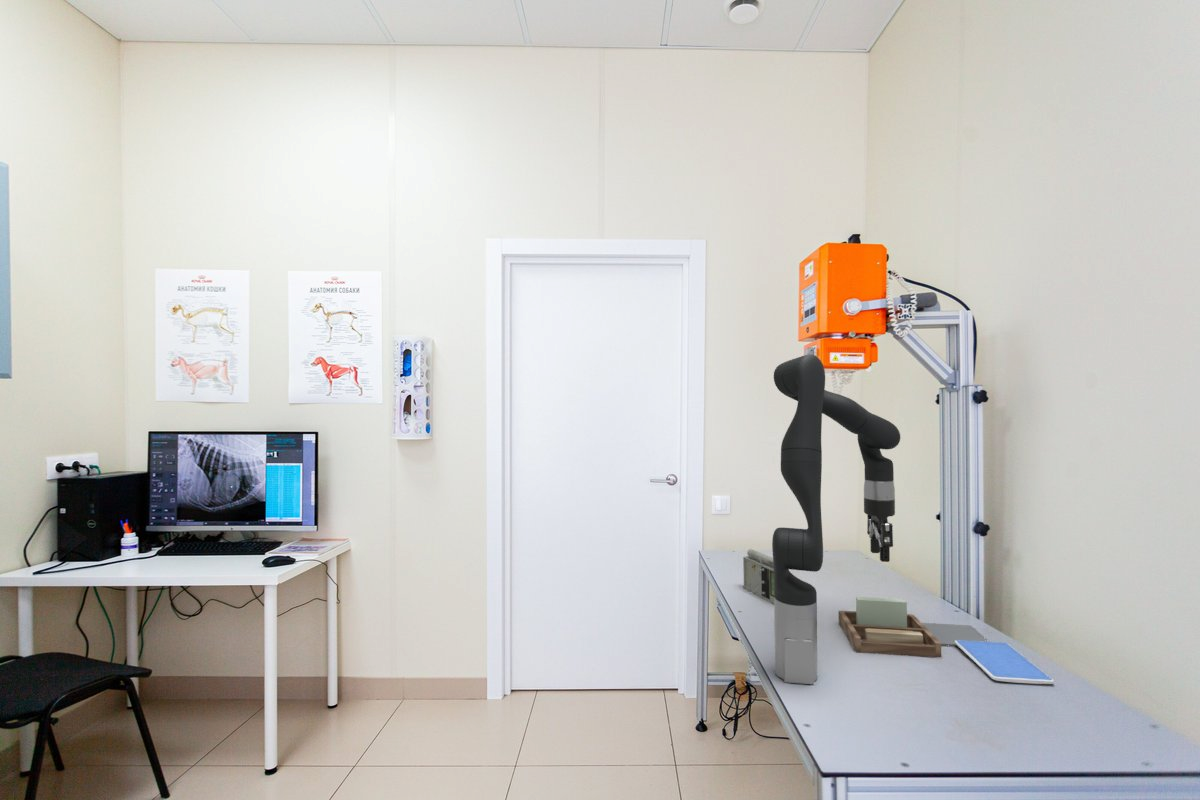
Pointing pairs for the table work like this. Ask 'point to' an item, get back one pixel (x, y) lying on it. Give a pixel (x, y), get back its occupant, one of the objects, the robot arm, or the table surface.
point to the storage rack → (857, 633)
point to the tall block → (881, 612)
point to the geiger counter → (759, 575)
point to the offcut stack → (893, 636)
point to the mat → (953, 633)
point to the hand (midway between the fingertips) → (879, 556)
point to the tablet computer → (1003, 662)
